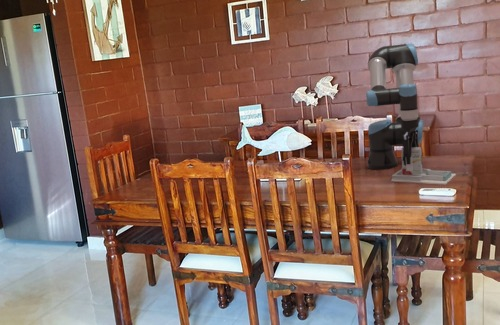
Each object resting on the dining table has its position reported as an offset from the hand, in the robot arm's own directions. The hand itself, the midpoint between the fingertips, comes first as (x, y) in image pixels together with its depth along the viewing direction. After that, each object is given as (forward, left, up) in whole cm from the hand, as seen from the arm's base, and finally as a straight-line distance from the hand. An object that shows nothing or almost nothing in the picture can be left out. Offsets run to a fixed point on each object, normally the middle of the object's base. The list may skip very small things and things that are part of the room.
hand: (412, 168), depth 232 cm
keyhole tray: (0, +5, -4) cm, 7 cm away
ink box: (0, 0, -2) cm, 2 cm away
